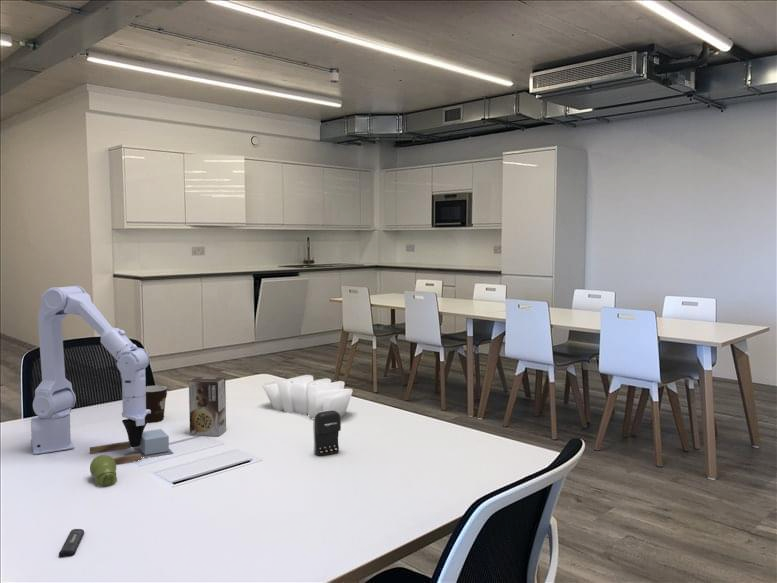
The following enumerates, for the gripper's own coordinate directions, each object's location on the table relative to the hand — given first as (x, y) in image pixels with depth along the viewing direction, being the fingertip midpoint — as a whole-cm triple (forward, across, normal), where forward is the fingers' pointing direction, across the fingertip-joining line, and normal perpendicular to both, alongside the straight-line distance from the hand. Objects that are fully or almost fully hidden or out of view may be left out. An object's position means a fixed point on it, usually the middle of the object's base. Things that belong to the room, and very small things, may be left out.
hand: (135, 446), depth 166 cm
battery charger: (+2, -27, -43) cm, 51 cm away
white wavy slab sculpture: (+2, +14, -58) cm, 60 cm away
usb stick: (+3, -47, +21) cm, 52 cm away
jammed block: (+2, 0, -5) cm, 5 cm away
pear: (+2, -16, +10) cm, 19 cm away
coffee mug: (+2, +31, -13) cm, 34 cm away
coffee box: (+2, +8, -22) cm, 24 cm away
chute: (+2, 0, +5) cm, 5 cm away
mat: (+2, 0, -4) cm, 5 cm away
